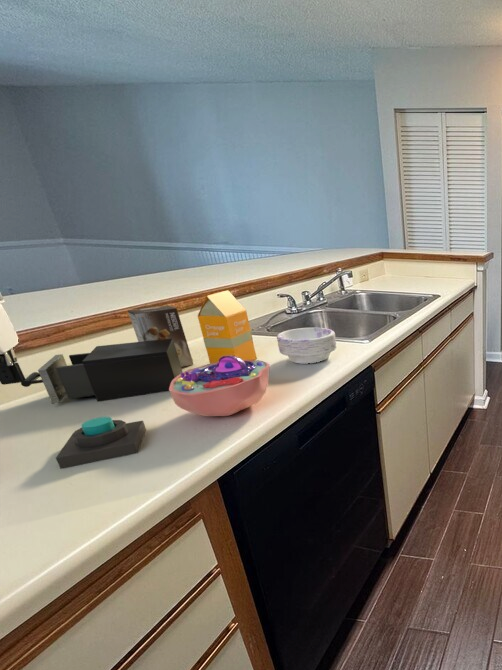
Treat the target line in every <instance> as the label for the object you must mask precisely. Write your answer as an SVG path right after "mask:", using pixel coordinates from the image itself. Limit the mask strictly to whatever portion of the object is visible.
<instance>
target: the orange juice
mask: <svg viewBox="0 0 502 670" xmlns="http://www.w3.org/2000/svg"><path fill="white" fill-rule="evenodd" d="M247 312H248V311H247V309H246V308H245V307H244V306H243V305H242V304H241V303H240V301H238V300H237V299H236V297H235V296H234V294H232V293H231V292H230V290H229V289H226V290H222V291H221V290H220V291H217V292H213V293H210V294H206V296H205V298H204V300H203V303H202V305H201V307H200V309H199V311H198V314H197V319H198V323H199V327H200V330H201V335H202V339H203V342H204V346H205V349H206V353H207V357H208V361H209V364H211V363H217V362H218V361H219V359H220V358H221V357H223V356H226V355H232V356H236V357H239V358H241V359H242V360H258V357H257V353H256V348H255V344H254V339H253V334H252V330H251V326H250V321H249V317H248V313H247Z"/></svg>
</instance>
